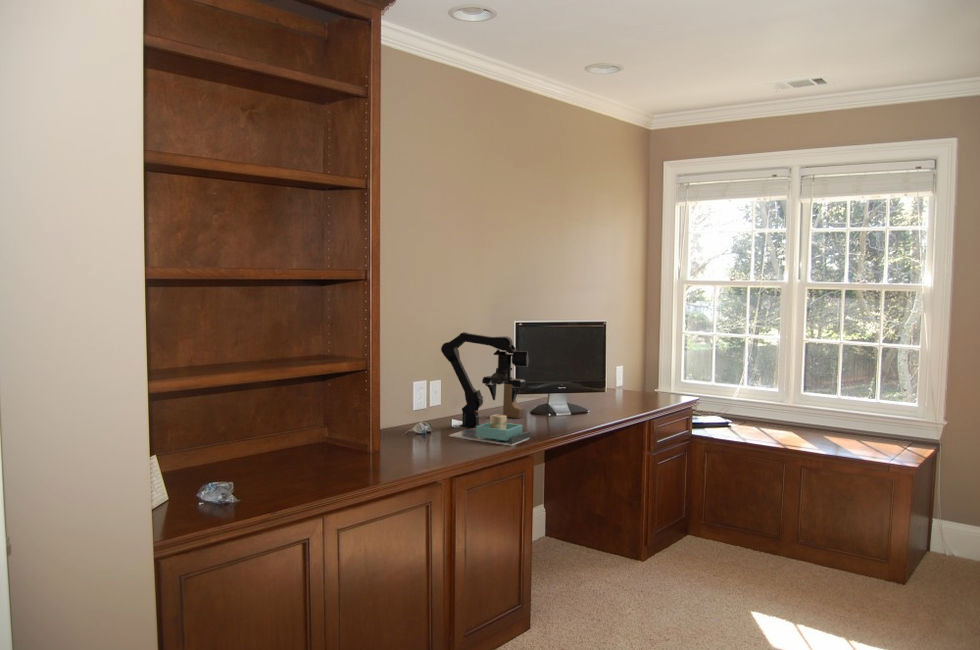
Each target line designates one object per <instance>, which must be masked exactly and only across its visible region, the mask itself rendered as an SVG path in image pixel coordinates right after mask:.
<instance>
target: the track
mask: <svg viewBox="0 0 980 650" xmlns="http://www.w3.org/2000/svg"><path fill="white" fill-rule="evenodd" d="M530 435H531V433H530V431H524V432H523V431H522V433H521V434H518V435H515V436H512V437H510V438H509V440H507V441H502V440H499V439H492V438H485V437H483V438H481V437H478V436H476V429H474V428H467V429H464V430H461V431H457V432H454V433H451V434H448V437H452V438H457V439H463V440H471V441H478V442H482V443H489V444H491V443H492V444H496V445H503V446H509V447H512V446H514V445H517V444H520V443H522V442H525V441H528V440H529V439H530V438H531V437H530Z"/></svg>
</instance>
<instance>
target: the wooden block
mask: <svg viewBox="0 0 980 650" xmlns="http://www.w3.org/2000/svg"><path fill="white" fill-rule="evenodd" d="M515 379H516V378H514V377H512V380H515ZM511 387H513V386H512V384H503V405H502V406H503V409H502V415H506V416H507V418H513V419H518V420H519V419H521V418H524V415H525V414H524V412H525V409H524V408H525V407H524V408H523V407H521V406H519V404H518V403H517V397H516V398H515V400H514V402H513V403H512V389H511Z"/></svg>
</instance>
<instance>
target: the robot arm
mask: <svg viewBox="0 0 980 650" xmlns="http://www.w3.org/2000/svg"><path fill="white" fill-rule="evenodd" d="M464 343H470V344H478V345H485V346H490V347H492V348H494V349H496V351H495V352H493V356H497V367H496V368H495V372H494V373H492V375H488V376H487V375H486V376H484V377H482V380H481V382H482V384H483V385H484V386H485V387H487V388H488V389H489V391H490V394H491V397H492V400H493V401H496V397H497V385H502V384H503V385H504V384H512V386H513V387H511V389H512V403H513V402H514V400H515V398H516V399H517V396H518V394H519V392H520V390H521V389H522V388H524V387H526V386H527V382H526V380H525V379H523V378H522V379H521V378H514V379H515V380H512V378H513V377H512V376H511V375H512V372H511V371H513V367H512V365H513V366H514V367H523V368H528V367H529V362H530V359H529V351H528V350H523V351H522V350H518V349H517V348H516V347H515V346H514V344H513V340H512V338H511V337H510V336H507V335H506V336H488V335H481V334H475V333H470V332H466V331H465V332H460V334H458V335H457V336H456V337H455V338H453V339H451V340H450V341H446V342H444V343H443V344H442V345H441V348H440V351H441V353H442V354H443V356H444V357H445V359H446V360H447V361H448V362H449V363H450V364H451V366H452V369H453V371H454V373H455V375H456V377H457V379H458V382H459V383H460V385H461V387H462V390H463V391H464V398H465V399H464V400H465V403H466V404H465V405H464V406H463V407H462V408H461V411H462V419H461V420H462V424H460V427H465V428H470V429H474V428H476V426H479V425H481V424H480V416H479V412H478V411H479V409H480V408H481V407H482V406H483V403H484V396H483V395H482V392H481V390H480V389H478V390H476V389H475V388H474V386H473V383H472V382H471V378H470V377H469V376H468V373H467V371H466V368H465V367H464V365H463V363H462V361H461V356H460V351H459V348H460V347H461V346H462V345H463V344H464Z"/></svg>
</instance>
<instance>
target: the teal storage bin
mask: <svg viewBox="0 0 980 650" xmlns="http://www.w3.org/2000/svg"><path fill="white" fill-rule="evenodd" d="M523 425H524V424H515V423H510V422H507V425H506V430H502V429H495V428H490V421H489V422H486V423H482V424H480V425H479V426H476V427H475V430H476V436H478V437H481V438H483V437H485V438H492V439H499V440H502V441H507V440H509V438H510V437H512V436H515V435H518V434H521V433H523Z"/></svg>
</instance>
